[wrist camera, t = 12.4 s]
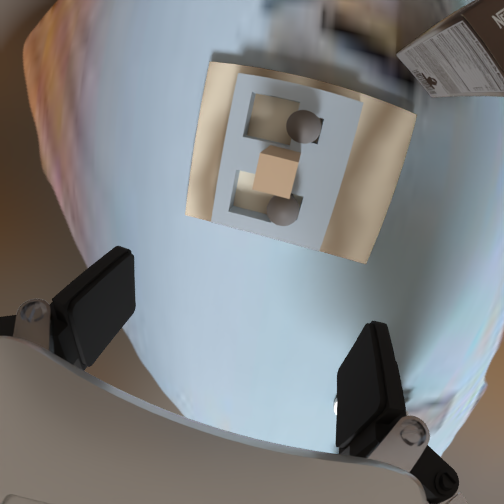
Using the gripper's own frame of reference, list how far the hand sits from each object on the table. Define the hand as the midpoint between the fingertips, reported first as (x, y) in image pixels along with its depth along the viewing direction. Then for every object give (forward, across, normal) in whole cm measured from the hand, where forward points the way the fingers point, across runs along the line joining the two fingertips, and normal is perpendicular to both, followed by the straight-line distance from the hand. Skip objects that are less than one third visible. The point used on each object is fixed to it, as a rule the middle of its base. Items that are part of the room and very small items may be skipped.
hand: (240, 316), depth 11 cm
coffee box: (+23, -12, -20) cm, 33 cm away
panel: (+22, +1, -2) cm, 22 cm away
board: (+23, 0, -3) cm, 23 cm away
